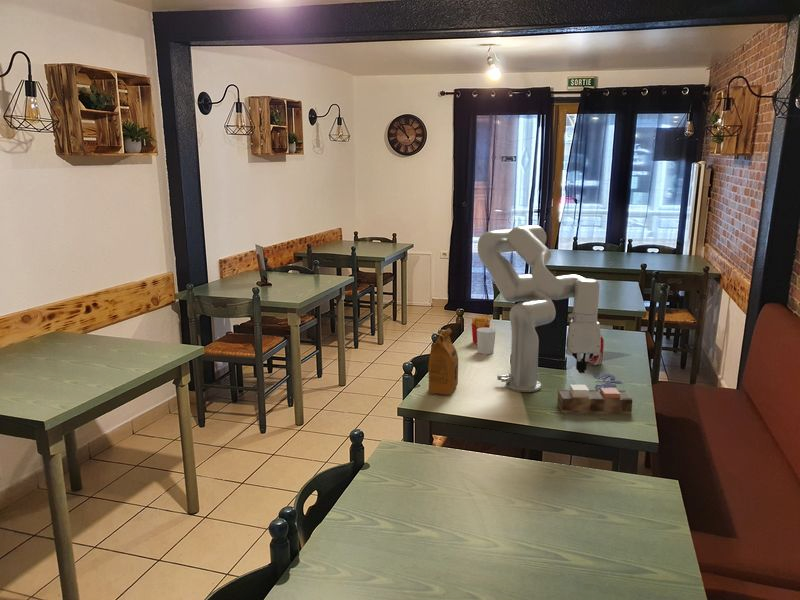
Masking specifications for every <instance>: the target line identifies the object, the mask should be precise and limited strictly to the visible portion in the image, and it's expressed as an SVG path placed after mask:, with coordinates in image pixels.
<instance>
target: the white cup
mask: <svg viewBox="0 0 800 600" xmlns="http://www.w3.org/2000/svg"><path fill="white" fill-rule="evenodd" d="M495 340H496V329H495V328H493V327H489V328H487V327H484V328H478V329H477V353H478V352H479V353H478V354H480V353H481V355H492V354H494V348H495Z"/></svg>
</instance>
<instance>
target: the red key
mask: <svg viewBox="0 0 800 600" xmlns="http://www.w3.org/2000/svg"><path fill="white" fill-rule="evenodd" d="M619 391H620V390H618V389H617V387H611V388H600V394H601V395H602V396H603V398H620V393H619Z"/></svg>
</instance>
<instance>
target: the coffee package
mask: <svg viewBox="0 0 800 600" xmlns="http://www.w3.org/2000/svg"><path fill="white" fill-rule="evenodd" d="M452 332H453V331H452V329H451V328H450V327H447V329H445V330H442V331H441V332H439V334H438V335H439V336H438V338H437V339H436V341H435V342H434V344H433V345H432V346H431V349H430V352H429V359H428V367H427V370H428V390H427V391H428V394H431V395H435V394H436V395H438V394H439V395H443V396H444V395H445V396H448V395H449V396H451V394H452V393H453V392H454V390H456V388H457V386H458V384H459V355H458V351H457V350H456V347H455V346H454V344H453V343H452V339H451V336H450V335H451V334H453V333H452Z"/></svg>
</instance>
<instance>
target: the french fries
mask: <svg viewBox="0 0 800 600" xmlns="http://www.w3.org/2000/svg"><path fill="white" fill-rule="evenodd" d="M471 322H472V323H471V334H472V335H471V337H472V343H473V342H474V343H473V344H475V343H477V329H478V328H484V327H487V328H491V326H490V325H491V324H490V322H491V318H489V317H487V316H475V317H473V316H472V318H471Z"/></svg>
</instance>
